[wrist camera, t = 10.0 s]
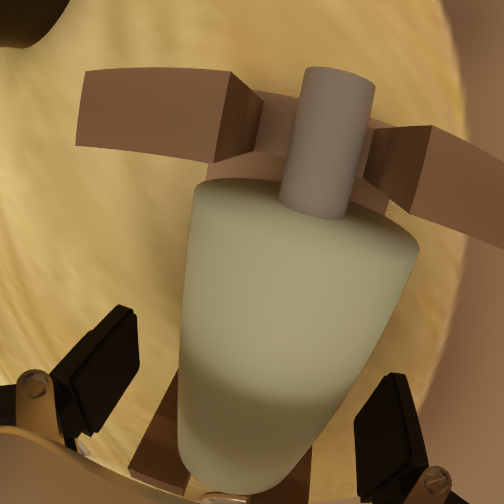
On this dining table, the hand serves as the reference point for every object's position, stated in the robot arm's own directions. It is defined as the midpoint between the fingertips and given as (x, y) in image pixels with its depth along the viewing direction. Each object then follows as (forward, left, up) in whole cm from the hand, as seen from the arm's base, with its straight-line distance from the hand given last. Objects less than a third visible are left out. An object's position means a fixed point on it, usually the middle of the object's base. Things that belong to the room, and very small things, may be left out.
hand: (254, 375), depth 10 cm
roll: (0, 0, 0) cm, 0 cm away
